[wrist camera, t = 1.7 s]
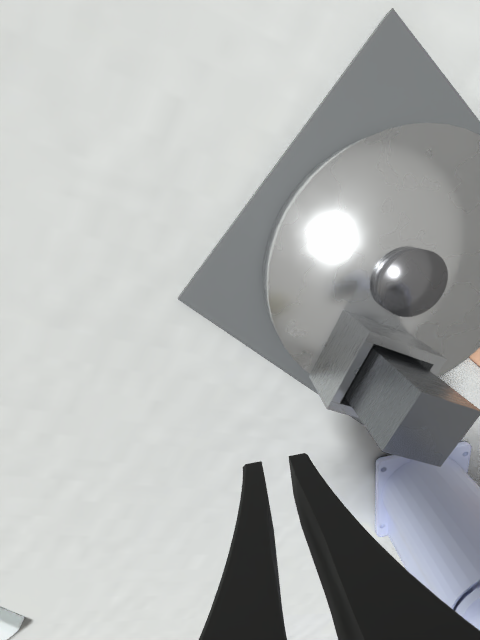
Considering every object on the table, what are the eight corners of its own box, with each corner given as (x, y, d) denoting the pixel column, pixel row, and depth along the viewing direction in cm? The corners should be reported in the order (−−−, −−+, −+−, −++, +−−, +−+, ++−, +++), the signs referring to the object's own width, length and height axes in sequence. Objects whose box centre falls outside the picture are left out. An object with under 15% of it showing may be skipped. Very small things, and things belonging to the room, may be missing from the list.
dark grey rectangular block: (350, 327, 18) (421, 392, 12) (393, 342, 18) (482, 412, 12) (327, 370, 19) (382, 451, 13) (368, 383, 19) (440, 467, 13)
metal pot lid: (331, 78, 15) (387, 21, 10) (552, 196, 18) (674, 195, 13) (226, 340, 20) (231, 385, 15) (416, 399, 23) (471, 453, 18)
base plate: (563, 242, 20) (573, 243, 20) (368, 426, 25) (372, 431, 24) (385, 14, 15) (392, 7, 15) (178, 296, 19) (177, 299, 19)
